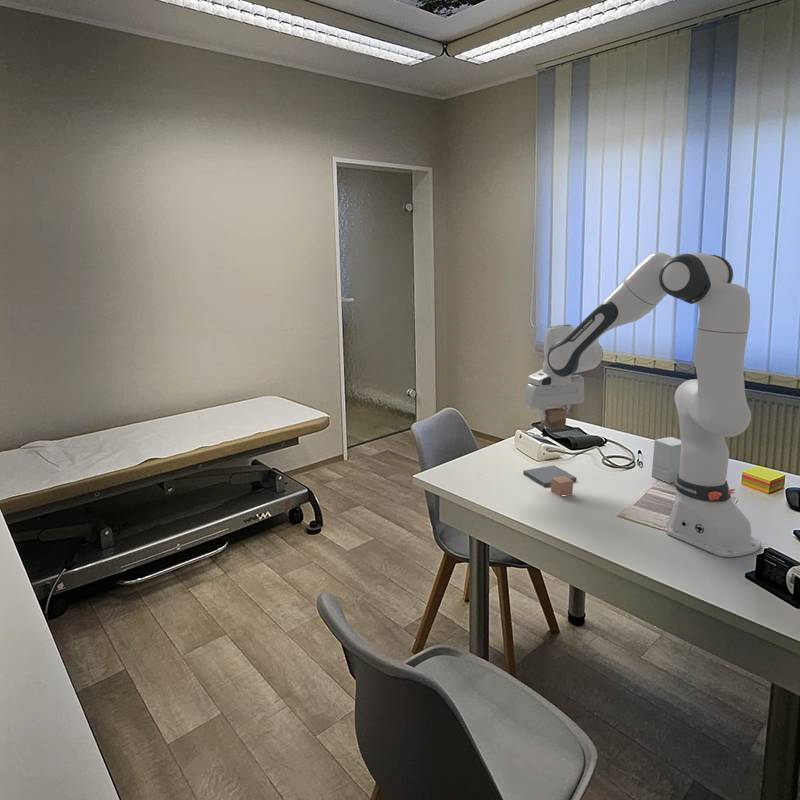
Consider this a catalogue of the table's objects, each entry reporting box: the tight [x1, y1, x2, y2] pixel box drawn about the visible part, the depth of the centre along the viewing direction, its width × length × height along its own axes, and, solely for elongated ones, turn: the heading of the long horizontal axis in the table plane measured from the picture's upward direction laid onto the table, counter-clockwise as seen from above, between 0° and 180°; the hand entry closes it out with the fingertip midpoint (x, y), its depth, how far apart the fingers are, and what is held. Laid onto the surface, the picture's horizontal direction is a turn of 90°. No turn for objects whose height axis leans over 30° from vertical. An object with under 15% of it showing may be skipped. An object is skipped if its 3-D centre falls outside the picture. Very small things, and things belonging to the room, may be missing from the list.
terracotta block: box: [550, 476, 574, 497], centre depth 186 cm, size 4×4×4 cm
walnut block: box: [540, 406, 568, 430], centre depth 193 cm, size 6×6×6 cm
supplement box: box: [651, 436, 681, 484], centre depth 194 cm, size 7×7×13 cm
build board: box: [523, 464, 577, 488], centre depth 198 cm, size 12×12×1 cm
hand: (553, 419), depth 193 cm, fingers closed on walnut block, 5 cm apart
